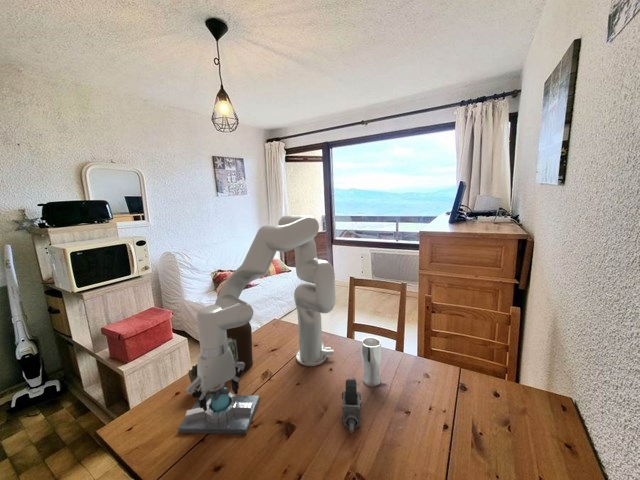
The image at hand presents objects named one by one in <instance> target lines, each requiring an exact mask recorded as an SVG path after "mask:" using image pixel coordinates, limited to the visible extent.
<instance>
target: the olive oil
mask: <svg viewBox="0 0 640 480" xmlns="http://www.w3.org/2000/svg"><path fill="white" fill-rule="evenodd" d="M226 331H227V338H232V342H230V343H229V347H230V349H231V352H232V355H233V359H234V361H235V362H243V363H244V364H245V367H244V369H243V373H246V372H247V371H249V370H250V369H251V368H252V367H253V364H254V363H253V362H254V360H253V342H252V341H253V335H252V333H253V332H252V325H251V322H250V321H249V322H248V323H247V324H245V325H243V326H240V327H236V328H231V329H227V330H226ZM238 369H239V367H235V370H236V371H237V370H238Z"/></svg>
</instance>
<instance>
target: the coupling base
mask: <svg viewBox="0 0 640 480" xmlns="http://www.w3.org/2000/svg"><path fill="white" fill-rule="evenodd" d="M205 398H206V405H207V410H206V411H204V410H203V408H200V406H199V399H198V398H197V399H196V401H195V403H194V404H193V405H192V407H191V409H188V410H186V412H185V417H184V419H183V420H182V421H181V423H180V424H179V426H177V433H178V434H214V435H215V434H218V435H220V434H221V435H223V434H224V435H247V433H248V431H249V429H250V425H251V423H252V421H253V418H254V415H255V413H256V410H257V407H258V405H259V402H260V395H259V394H258V395H255V394H253V395H251V394H250V395H249V394H234V393H232V392H229V403H230V406H229V407H228V408H226V409H225V410H223V411H220V412H213V411H212V402H211V394H205Z"/></svg>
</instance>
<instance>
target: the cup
mask: <svg viewBox="0 0 640 480" xmlns="http://www.w3.org/2000/svg"><path fill="white" fill-rule="evenodd" d="M191 368H192V369H188V373H187V374H188V377H189V381H190V384H191V383H192V382H193V381H194V380H195V379H196V378H197V377H198V376H197V363H196V364H195V365H192V367H191ZM200 386H201V385H199V384H198V385H197V386H196V387H195V389H196V391H198V389H199V388H200Z"/></svg>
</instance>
